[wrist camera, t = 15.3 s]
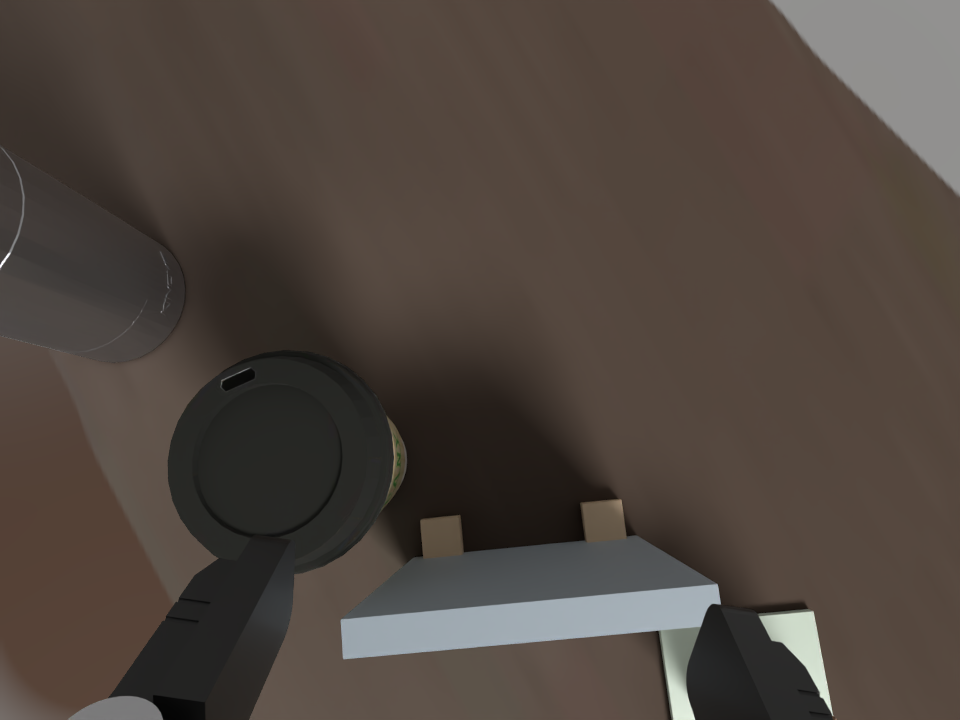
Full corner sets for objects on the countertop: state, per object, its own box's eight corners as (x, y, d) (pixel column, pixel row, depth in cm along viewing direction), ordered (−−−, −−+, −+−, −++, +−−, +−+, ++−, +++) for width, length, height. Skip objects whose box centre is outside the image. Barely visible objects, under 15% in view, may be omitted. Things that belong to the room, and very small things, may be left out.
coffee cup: (317, 564, 39) (194, 624, 24) (265, 422, 41) (122, 398, 26) (458, 502, 39) (421, 524, 24) (401, 363, 41) (333, 305, 26)
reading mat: (681, 786, 36) (683, 791, 35) (657, 622, 37) (659, 625, 37) (839, 773, 35) (844, 779, 35) (808, 609, 37) (813, 611, 36)
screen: (418, 619, 38) (347, 726, 22) (410, 519, 39) (337, 556, 23) (645, 597, 38) (735, 692, 22) (631, 497, 39) (707, 519, 23)
